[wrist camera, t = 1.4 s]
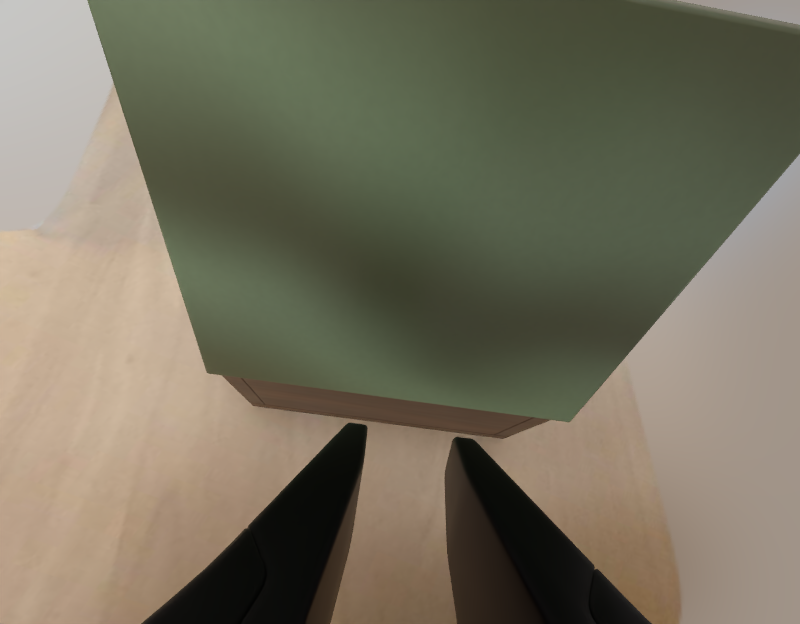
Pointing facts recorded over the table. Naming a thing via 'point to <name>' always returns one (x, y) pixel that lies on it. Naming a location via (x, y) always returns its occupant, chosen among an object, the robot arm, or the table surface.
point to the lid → (446, 180)
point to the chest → (381, 409)
